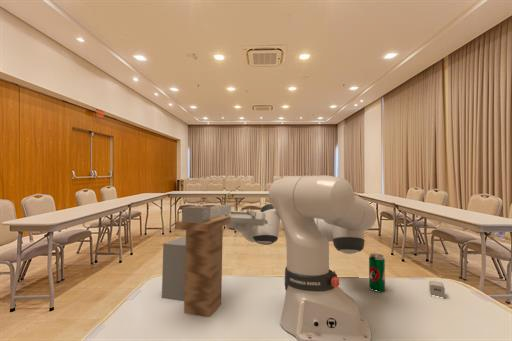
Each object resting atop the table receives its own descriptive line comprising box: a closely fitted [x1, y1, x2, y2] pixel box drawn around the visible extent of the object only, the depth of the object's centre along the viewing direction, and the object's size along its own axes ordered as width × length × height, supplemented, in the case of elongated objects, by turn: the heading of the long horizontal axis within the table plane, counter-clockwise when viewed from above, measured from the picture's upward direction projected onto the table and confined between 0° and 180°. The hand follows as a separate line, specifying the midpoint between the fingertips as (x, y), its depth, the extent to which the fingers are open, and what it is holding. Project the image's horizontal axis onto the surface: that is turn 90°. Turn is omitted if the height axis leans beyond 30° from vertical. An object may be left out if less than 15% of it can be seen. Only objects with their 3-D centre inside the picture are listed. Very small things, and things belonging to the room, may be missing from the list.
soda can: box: [368, 253, 386, 292], centre depth 93 cm, size 5×5×12 cm
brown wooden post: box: [174, 216, 230, 318], centre depth 78 cm, size 10×16×26 cm, turn 165°
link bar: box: [181, 204, 232, 223], centre depth 83 cm, size 6×26×4 cm, turn 165°
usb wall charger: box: [428, 280, 446, 299], centre depth 90 cm, size 4×7×4 cm, turn 150°
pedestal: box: [161, 235, 186, 302], centre depth 91 cm, size 8×16×17 cm, turn 165°
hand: (237, 210), depth 107 cm, fingers open, 8 cm apart
